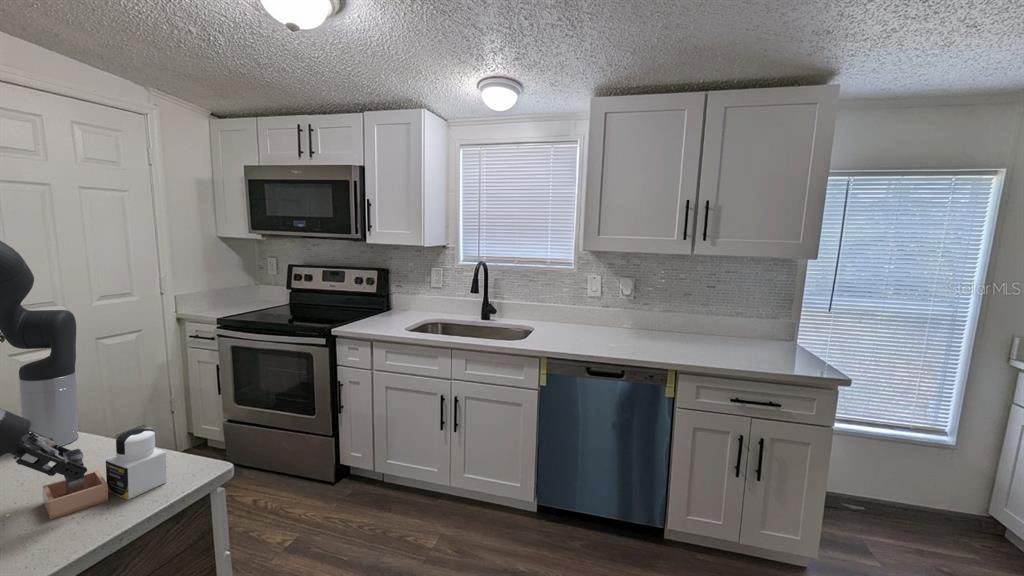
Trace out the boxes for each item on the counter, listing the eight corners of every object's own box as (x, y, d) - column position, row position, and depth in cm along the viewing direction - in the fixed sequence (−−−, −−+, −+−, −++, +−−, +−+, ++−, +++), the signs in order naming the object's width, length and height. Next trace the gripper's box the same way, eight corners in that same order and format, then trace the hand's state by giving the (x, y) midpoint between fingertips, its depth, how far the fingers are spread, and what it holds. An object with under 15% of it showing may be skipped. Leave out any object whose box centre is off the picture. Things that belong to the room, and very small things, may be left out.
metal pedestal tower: (58, 499, 82) (55, 453, 81) (87, 490, 85) (84, 446, 84) (62, 508, 80) (60, 460, 79) (92, 498, 83) (89, 452, 82)
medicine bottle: (106, 491, 86) (103, 436, 85) (146, 474, 93) (144, 422, 92) (127, 500, 84) (125, 443, 83) (167, 482, 90) (166, 429, 89)
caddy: (43, 503, 82) (42, 486, 81) (98, 485, 88) (98, 469, 88) (50, 519, 77) (49, 502, 77) (108, 500, 83) (107, 483, 83)
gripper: (8, 421, 70) (105, 460, 80) (-1, 399, 78) (88, 437, 88) (-43, 464, 66) (66, 499, 76) (-47, 436, 74) (52, 471, 84)
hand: (78, 466), depth 82 cm, fingers open, 8 cm apart
